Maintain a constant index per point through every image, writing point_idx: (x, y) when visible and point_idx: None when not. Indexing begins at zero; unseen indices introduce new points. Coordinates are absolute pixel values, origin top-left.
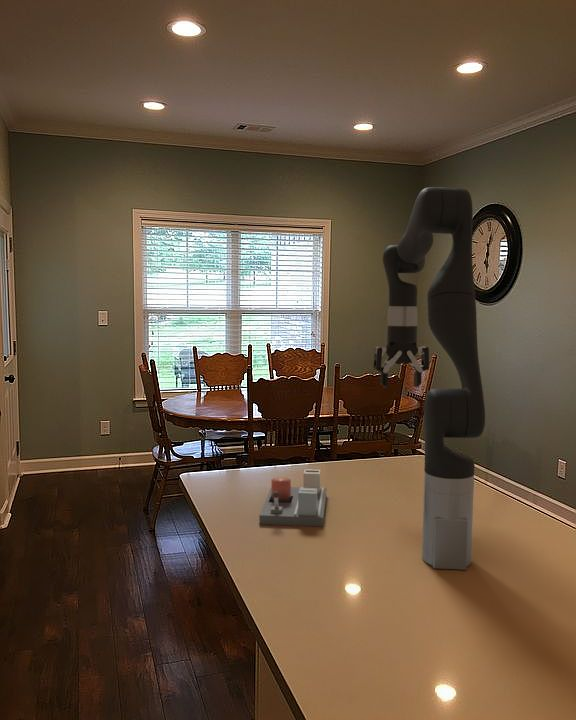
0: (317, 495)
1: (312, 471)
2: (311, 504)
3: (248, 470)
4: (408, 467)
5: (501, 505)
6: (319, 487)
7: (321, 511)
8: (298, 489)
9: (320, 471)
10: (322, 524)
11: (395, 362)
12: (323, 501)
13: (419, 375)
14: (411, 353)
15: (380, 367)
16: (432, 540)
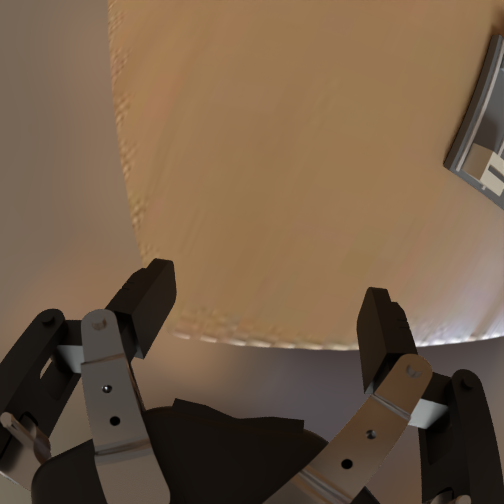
0: (478, 137)
1: (498, 171)
2: None
3: (462, 332)
4: (207, 287)
5: (140, 39)
6: (479, 145)
7: (496, 58)
8: None
9: (479, 176)
10: (494, 35)
11: (317, 436)
12: (480, 101)
13: (123, 299)
14: (107, 475)
15: (458, 389)
16: None
